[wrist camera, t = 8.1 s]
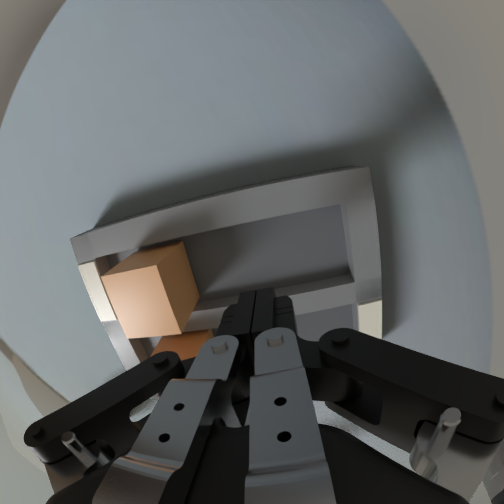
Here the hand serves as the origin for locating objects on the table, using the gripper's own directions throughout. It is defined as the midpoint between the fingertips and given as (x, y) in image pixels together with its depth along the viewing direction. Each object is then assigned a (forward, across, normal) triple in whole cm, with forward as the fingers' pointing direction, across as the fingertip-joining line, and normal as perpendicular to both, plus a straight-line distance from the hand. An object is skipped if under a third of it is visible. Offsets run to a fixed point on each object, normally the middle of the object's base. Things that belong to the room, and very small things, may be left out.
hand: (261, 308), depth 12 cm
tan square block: (+7, +7, 0) cm, 10 cm away
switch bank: (+9, +3, +3) cm, 10 cm away
